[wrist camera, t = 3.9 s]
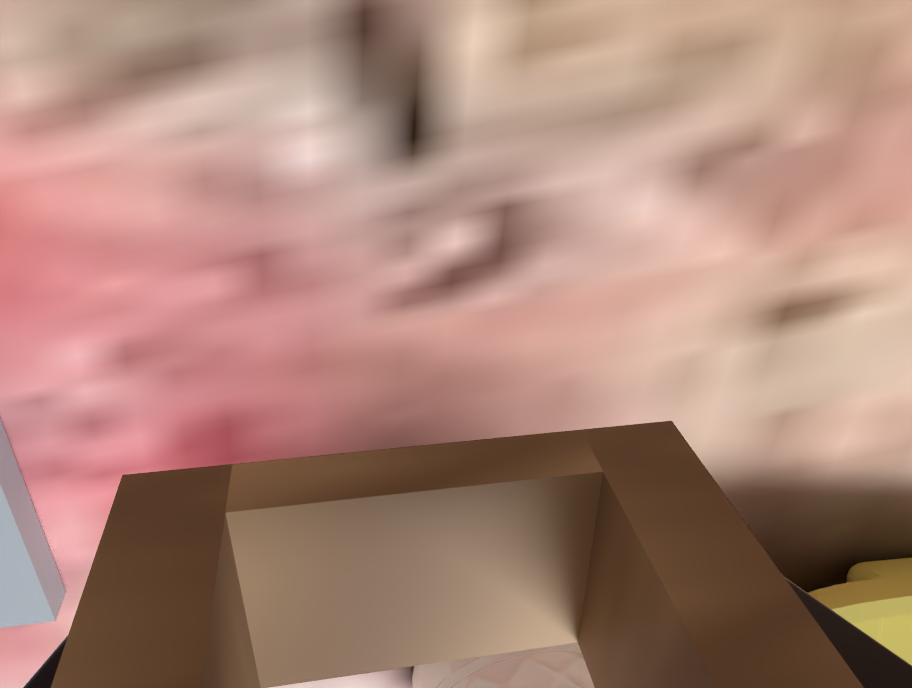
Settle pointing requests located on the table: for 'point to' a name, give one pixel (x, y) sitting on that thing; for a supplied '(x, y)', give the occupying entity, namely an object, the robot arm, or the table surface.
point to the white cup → (510, 670)
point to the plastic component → (876, 602)
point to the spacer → (442, 569)
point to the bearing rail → (23, 552)
